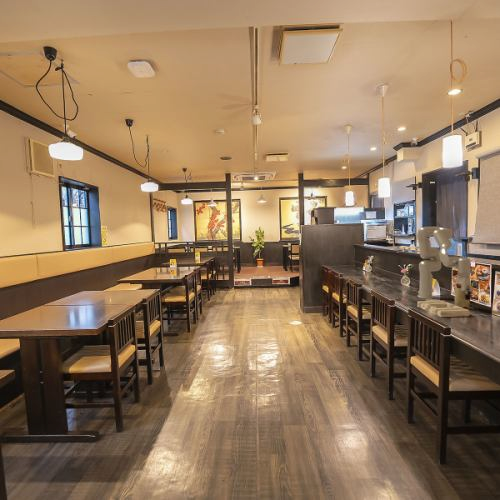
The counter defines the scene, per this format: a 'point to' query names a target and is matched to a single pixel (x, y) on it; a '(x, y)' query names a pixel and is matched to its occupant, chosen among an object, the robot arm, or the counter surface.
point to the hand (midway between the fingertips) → (462, 298)
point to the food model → (461, 297)
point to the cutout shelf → (443, 308)
